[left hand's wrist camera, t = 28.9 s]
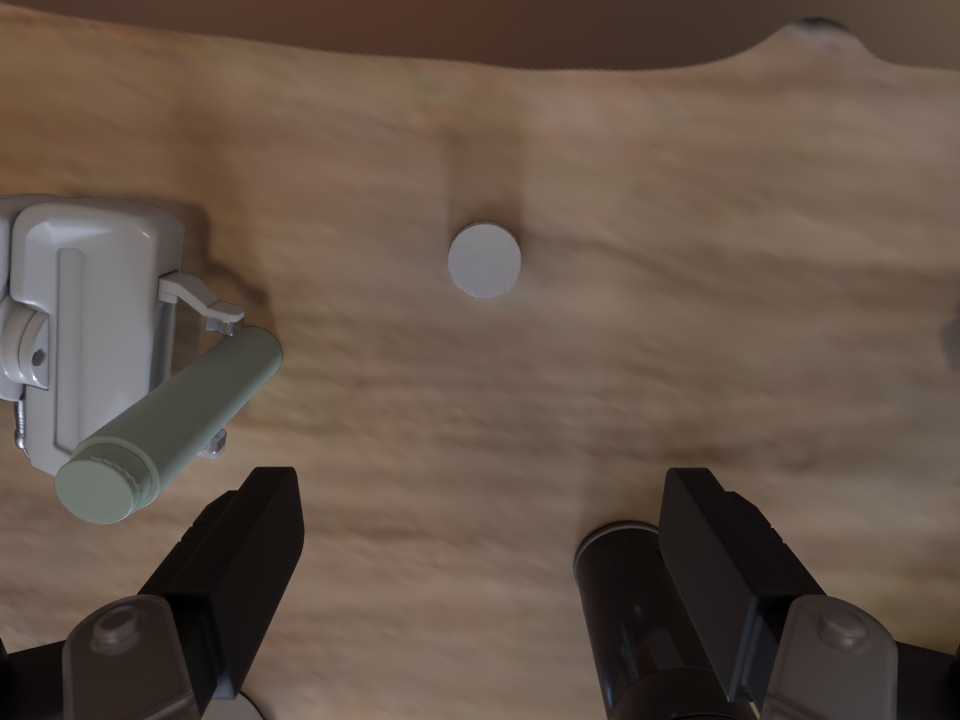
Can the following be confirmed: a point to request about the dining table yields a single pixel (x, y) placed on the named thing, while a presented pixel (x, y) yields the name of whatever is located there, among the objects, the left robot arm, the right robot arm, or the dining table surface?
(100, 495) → the bottle
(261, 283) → the dining table surface
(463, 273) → the lid
